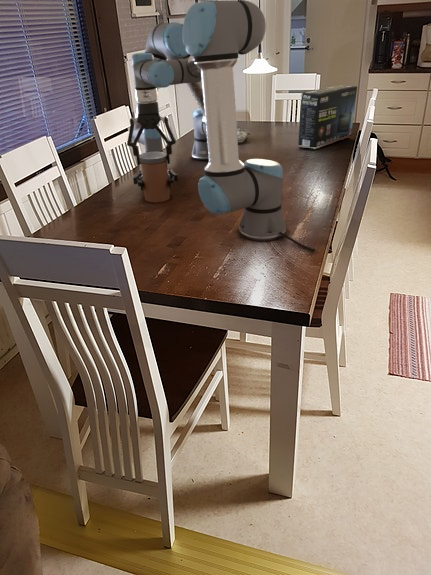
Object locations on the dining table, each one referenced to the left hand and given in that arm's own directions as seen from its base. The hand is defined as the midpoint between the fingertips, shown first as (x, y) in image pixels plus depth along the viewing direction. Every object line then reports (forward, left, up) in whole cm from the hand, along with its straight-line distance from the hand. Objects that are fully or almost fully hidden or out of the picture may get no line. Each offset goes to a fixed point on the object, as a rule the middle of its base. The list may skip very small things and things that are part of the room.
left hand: (155, 185), depth 174 cm
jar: (-4, -2, -6) cm, 8 cm away
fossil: (-99, +2, -6) cm, 99 cm away
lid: (-4, -2, +10) cm, 11 cm away
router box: (-101, +52, -6) cm, 114 cm away
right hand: (-4, -2, +7) cm, 8 cm away
